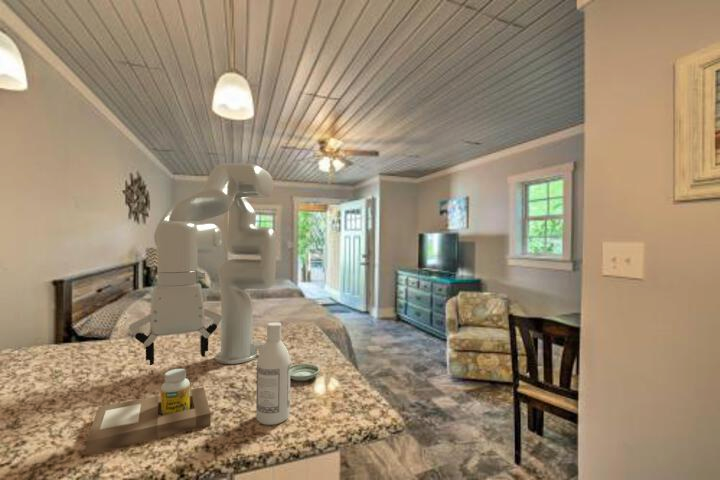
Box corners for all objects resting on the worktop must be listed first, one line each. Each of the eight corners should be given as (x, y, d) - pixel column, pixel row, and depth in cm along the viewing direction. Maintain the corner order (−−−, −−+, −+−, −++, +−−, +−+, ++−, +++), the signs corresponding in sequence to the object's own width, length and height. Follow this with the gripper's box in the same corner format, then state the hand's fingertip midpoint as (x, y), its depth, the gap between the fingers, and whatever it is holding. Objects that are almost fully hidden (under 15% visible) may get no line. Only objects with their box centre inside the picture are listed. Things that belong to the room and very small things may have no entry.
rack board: (203, 397, 81) (203, 386, 81) (210, 425, 69) (210, 412, 69) (98, 418, 71) (99, 406, 71) (85, 456, 58) (85, 440, 58)
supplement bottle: (188, 408, 75) (188, 365, 75) (191, 418, 71) (191, 373, 71) (160, 415, 72) (160, 370, 72) (161, 426, 68) (162, 379, 68)
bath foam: (276, 406, 77) (277, 318, 77) (296, 416, 72) (297, 323, 72) (249, 418, 72) (250, 324, 72) (269, 430, 67) (270, 329, 67)
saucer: (326, 374, 96) (326, 366, 96) (307, 388, 87) (307, 378, 87) (297, 369, 100) (297, 361, 100) (277, 381, 91) (277, 372, 91)
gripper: (219, 275, 79) (218, 347, 80) (130, 279, 71) (131, 360, 71) (224, 279, 73) (223, 357, 73) (127, 284, 64) (127, 373, 65)
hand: (178, 358), depth 72 cm, fingers open, 9 cm apart
